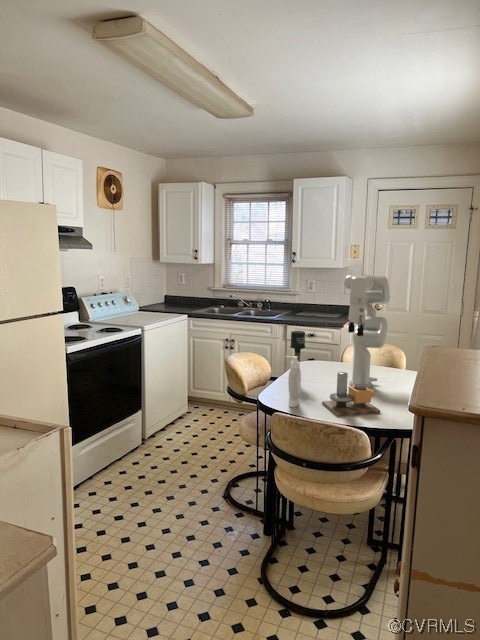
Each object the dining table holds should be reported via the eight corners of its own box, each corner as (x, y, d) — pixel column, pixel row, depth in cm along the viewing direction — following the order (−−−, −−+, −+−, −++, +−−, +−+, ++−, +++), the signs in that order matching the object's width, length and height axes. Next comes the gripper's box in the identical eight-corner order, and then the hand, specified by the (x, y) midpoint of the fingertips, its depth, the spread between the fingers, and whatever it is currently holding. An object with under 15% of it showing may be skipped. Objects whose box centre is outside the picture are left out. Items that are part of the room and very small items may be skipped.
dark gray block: (361, 403, 234) (362, 384, 232) (365, 406, 230) (366, 386, 228) (353, 404, 233) (354, 384, 231) (357, 406, 229) (358, 386, 227)
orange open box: (369, 396, 237) (369, 385, 236) (377, 401, 229) (378, 389, 228) (348, 398, 234) (348, 386, 233) (355, 403, 226) (356, 391, 225)
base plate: (362, 401, 242) (362, 398, 242) (380, 413, 225) (380, 410, 224) (322, 404, 237) (322, 401, 237) (337, 416, 220) (337, 413, 219)
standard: (346, 402, 236) (348, 369, 233) (356, 409, 225) (358, 375, 223) (325, 403, 233) (327, 370, 231) (335, 411, 223) (336, 377, 220)
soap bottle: (287, 399, 244) (288, 353, 240) (302, 401, 241) (303, 354, 237) (280, 407, 232) (281, 358, 228) (295, 409, 229) (297, 360, 225)
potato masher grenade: (294, 386, 267) (296, 333, 262) (286, 382, 274) (287, 331, 270) (307, 384, 271) (308, 332, 266) (298, 380, 278) (300, 330, 273)
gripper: (372, 303, 235) (370, 337, 238) (356, 299, 252) (354, 330, 254) (358, 303, 233) (356, 337, 236) (343, 299, 250) (341, 331, 252)
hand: (355, 334), depth 245 cm, fingers open, 9 cm apart
